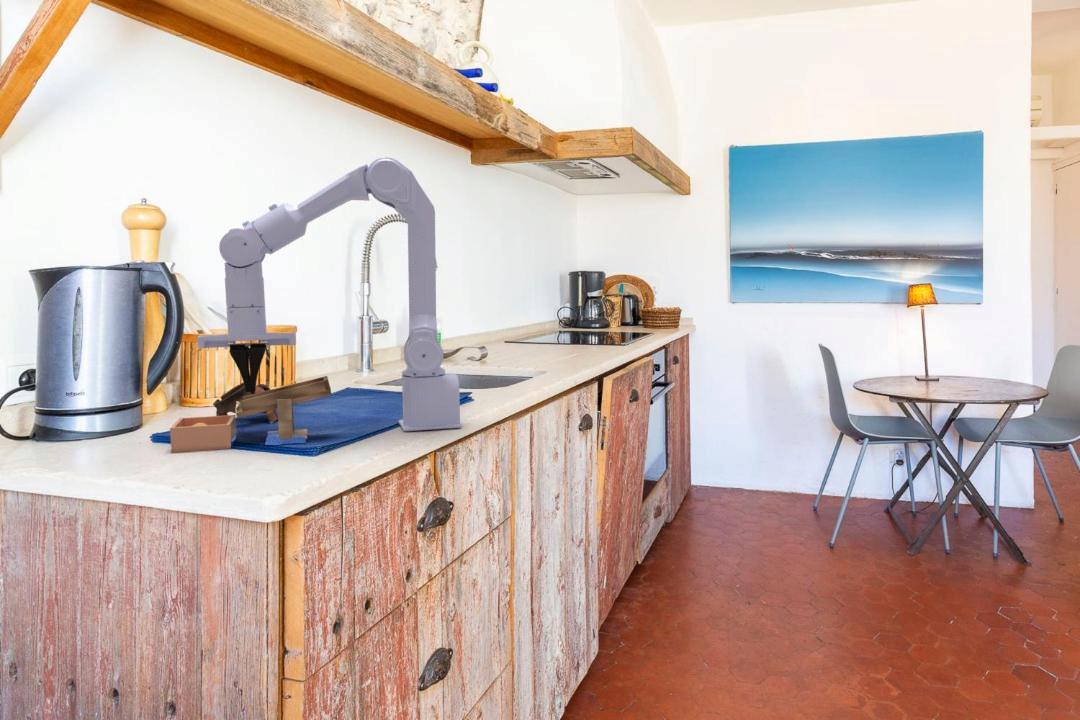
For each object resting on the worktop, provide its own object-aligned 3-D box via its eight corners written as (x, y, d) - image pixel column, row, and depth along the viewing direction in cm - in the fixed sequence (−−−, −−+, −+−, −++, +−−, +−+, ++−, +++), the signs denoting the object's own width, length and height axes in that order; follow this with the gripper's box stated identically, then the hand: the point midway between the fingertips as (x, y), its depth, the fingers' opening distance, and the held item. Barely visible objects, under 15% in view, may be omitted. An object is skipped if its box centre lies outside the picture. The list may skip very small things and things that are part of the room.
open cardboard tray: (236, 437, 115) (235, 414, 114) (231, 448, 107) (229, 424, 107) (181, 440, 113) (179, 418, 112) (171, 452, 105) (169, 428, 105)
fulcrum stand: (307, 432, 118) (305, 391, 117) (306, 443, 110) (304, 399, 110) (268, 435, 116) (266, 393, 115) (264, 446, 109) (262, 401, 108)
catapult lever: (330, 384, 123) (326, 371, 122) (331, 394, 112) (327, 379, 112) (241, 407, 119) (237, 393, 118) (233, 419, 108) (229, 404, 108)
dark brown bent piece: (270, 430, 123) (241, 390, 120) (226, 452, 125) (197, 413, 122) (296, 400, 134) (270, 364, 132) (255, 421, 136) (229, 385, 134)
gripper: (294, 305, 121) (298, 385, 123) (200, 306, 117) (205, 390, 118) (293, 306, 114) (297, 391, 116) (193, 308, 110) (198, 396, 112)
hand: (250, 391), depth 117 cm, fingers closed
